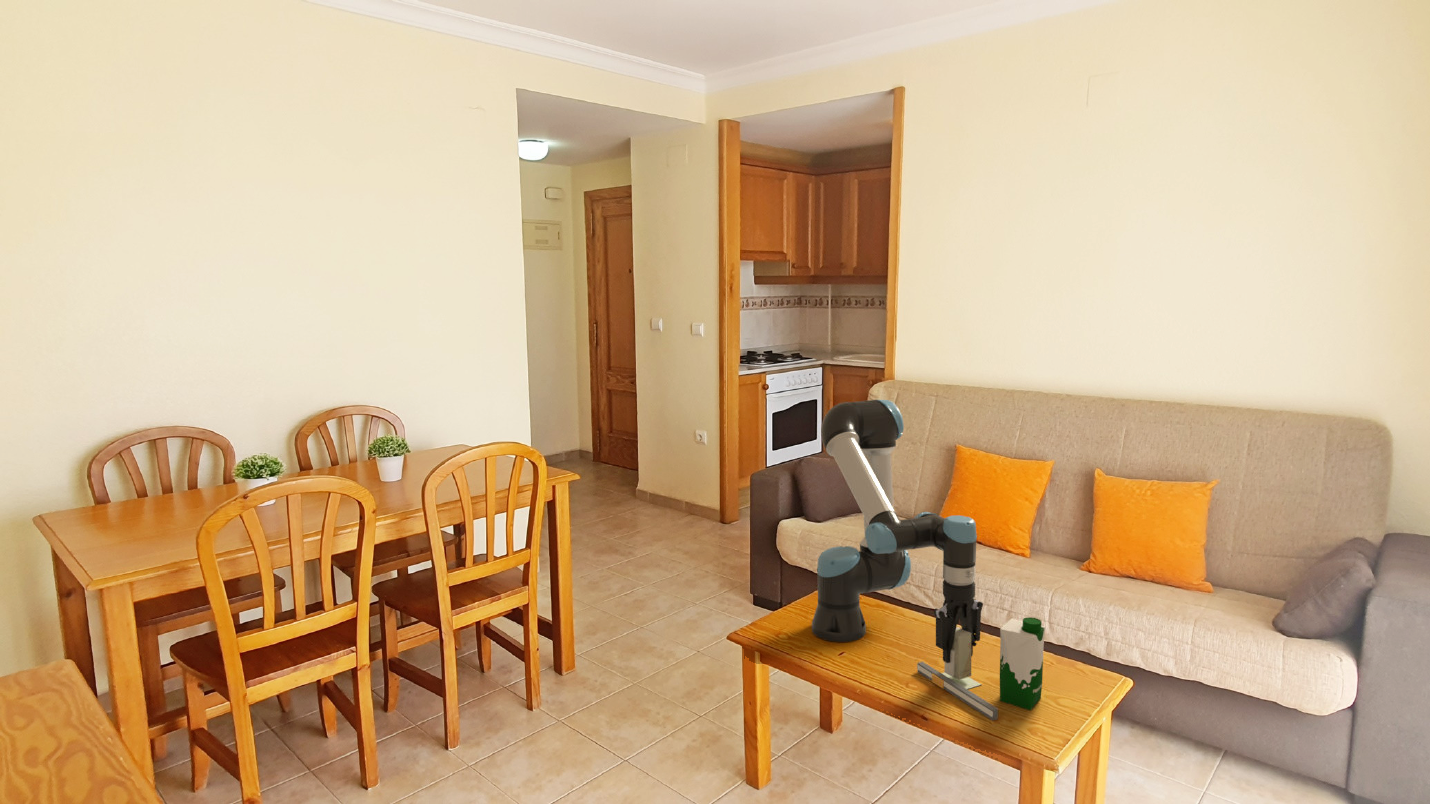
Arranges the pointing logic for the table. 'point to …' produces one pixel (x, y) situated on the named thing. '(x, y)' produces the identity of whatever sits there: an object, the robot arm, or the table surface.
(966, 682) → the pad
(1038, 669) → the fresh milk carton
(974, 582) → the robot arm
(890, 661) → the table surface
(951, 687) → the rail
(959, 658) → the box
